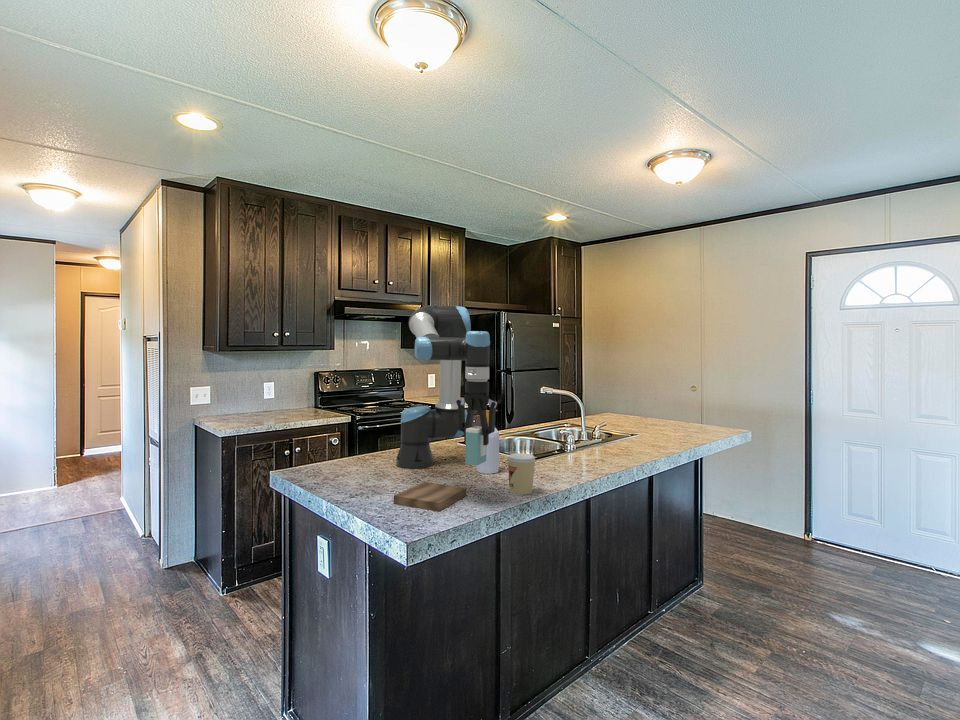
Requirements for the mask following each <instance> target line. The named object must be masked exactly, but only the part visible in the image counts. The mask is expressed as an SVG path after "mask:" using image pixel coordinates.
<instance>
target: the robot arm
mask: <svg viewBox="0 0 960 720" xmlns="http://www.w3.org/2000/svg"><path fill="white" fill-rule="evenodd" d="M470 317H471V316H470V313H469V311H468V309H467V308H466V307H465V306H458V305H432V304H430V305H425V306H422V307H419V308H417V309H416V310H414V311H413V312H412V313H411V315H410V317H409V319H408V328H409V330H410V331H411V333H412V334H413V335H414V336H415V338H416V339H415V340H414V357H415V359H416V360H419V361H439V364H440V365H439V366H440V367H439V394H438V402H436V404H435V405H434V406H435V407H434V409H431V407H430V406H429V405H423V406H422V405H421V406H418V405H417V406H412V407H408V408H405V409H403V410H402V411H401V415H400V448H399V450H398V452H397V456H396V462H395V465H396V466H397V467H399V468H404V469H424V468H429V467H432V466H434V462H435V461H434V456H433V452H432V449H431V445H430V440H431V439H448V438H449V439H455V438H461V437H463V436H464V437H463V438H464V439H463V443H464V444H466V429H467V428H470V427H472V424H473V421H474V415H475V412H476V411H478V414H479V420H480V426H482V432H483V434H482V435H480V456H484V455H486V445H488V443H489V434H491V433H493V432H494V431H495V428H496V412H497V411H496V410H497V406H498V404H499V403H498V401H494V400H492V399H491V397H490V382H489V381H488V380H490V355H491V354H490V353H491V352H490V351H491V350H490V348H491V340H490V339H491V336H490V333H489V332H488V331H485V330H484V331H482V330H480V331H478V330H476V331H475V330H471V329H472V328H471V325H472V324H471V318H470ZM462 361H465V371H464V373H465V376H464V377H465V379H466V380H465V382H464V383H465V384H464V389H465V390H464V393H465V395H464V396H463V398H461V385H462V383H461V382H462V380H461V379H462ZM465 405H466V406H467V409H466V406H465ZM487 406H488V407H489V409H488V410H489V423H488V422H487V416H486V410H487Z"/></svg>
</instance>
